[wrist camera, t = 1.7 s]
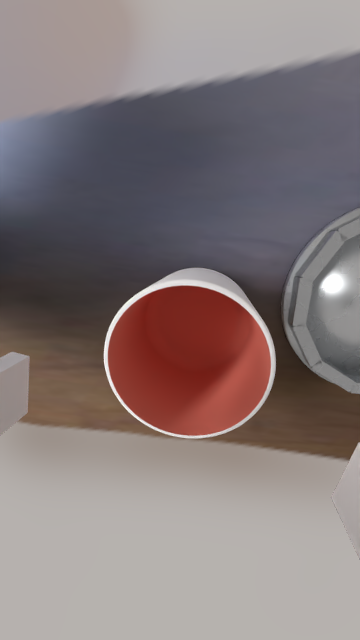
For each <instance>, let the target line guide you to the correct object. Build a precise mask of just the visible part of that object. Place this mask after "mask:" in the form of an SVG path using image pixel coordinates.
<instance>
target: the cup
mask: <svg viewBox="0 0 360 640" xmlns="http://www.w3.org/2000/svg"><path fill="white" fill-rule="evenodd" d="M104 364H105V370H106V373H107V377H108V381H109V383H110V386H111V388H112V390H113V392H114V394H115V395H116V397H117V398H118V400H119V401H120V402H121V404H122V405H123V406H124V407H125V408H126V409H127V410H128V411H129V412H130V413H131V414H132V415H133V416H134V417H135V418H136V419H138V420H139V421H141V422H142V423H144V424H145V425H147V426H149V427H150V428H152V429H154V430H157V431H159V432H162V433H165V434H168V435H171V436H176V437H182V438H207V437H213V436H217V435H221V434H223V433H226V432H229V431H231V430H233V429H235V428H237V427H239V426H240V425H242V424H243V423H245V422H246V421H247V420H249V419H250V418H251V417H252V416H253V415H254V414H255V413H256V412H257V411H258V410H259V409H260V407H261V406H262V405H263V403H264V402H265V400H266V398H267V397H268V395H269V393H270V390H271V388H272V385H273V381H274V377H275V371H276V356H275V349H274V344H273V341H272V338H271V335H270V332H269V330H268V328H267V326H266V324H265V323H264V321H263V319H262V318H261V317H260V315H259V314H258V312H257V311H256V309H255V308H254V306H253V305H252V303H251V302H250V301H249V299H248V298H247V296H246V295H245V293H244V292H243V291H242V289H241V288H240V287H239V286H238V285H237V284H236V283H235V282H234V281H233V280H231V279H230V278H229V277H227V276H225V275H224V274H222V273H219V272H217V271H214V270H210V269H205V268H188V269H183V270H179V271H176V272H174V273H172V274H170V275H168V276H166V277H164V278H163V279H161V280H159V281H158V282H156V283H154V284H152V285H151V286H149V287H147V288H146V289H144V290H142V291H141V292H139V293H137V294H136V295H134V296H133V297H132V298H131V299H129V300H128V301H127V302H126V303H125V304H124V305H123V306H122V308H121V309H120V310H119V311H118V313H117V314H116V316H115V317H114V319H113V321H112V323H111V325H110V327H109V330H108V333H107V336H106V340H105V346H104Z"/></svg>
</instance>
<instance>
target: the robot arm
mask: <svg viewBox="0 0 360 640" xmlns="http://www.w3.org/2000/svg"><path fill="white" fill-rule="evenodd" d="M28 384H29V356H26V355H23V354H19V353H15V352H11V353H9V354H7V355H5V356H3V357H1V358H0V436H1V435H2V434H3V433H4V432H5V431H7V430H8V429H9V428H10V427H11V426H12V425H13V424H15V423H16V422H17V421H18V420H19V419H21V418H22V417H23V416H24V415H25V414H26V413H28ZM331 499H332V501H333V503H334V505H335V507H336V509H337V511H338V514H339V516H340V518H341V520H342V522H343V525H344V527H345V529H346V531H347V533H348V535H349V537H350V540H351V542H352V544H353V546H354V548H355V550H356V553H357V555H358V557H359V559H360V443H358V445H357V447H356V449H355V451H354V453H353V455H352V457H351V459H350V460H349V462H348V464H347V466H346V468H345V470H344V472H343V475H342V477H341V478H340V480H339V482H338V484H337V486H336V488H335V491H334V492H333V494H332V496H331Z"/></svg>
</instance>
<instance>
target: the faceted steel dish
mask: <svg viewBox="0 0 360 640" xmlns="http://www.w3.org/2000/svg"><path fill="white" fill-rule="evenodd" d="M281 319H282V324H283V328H284V332H285V334H286V337H287V340H288V341H289V343H290V345H291V347H292V349H293V350H294V351H295V353H296V354H297V355H298V357H299V358H300V359H301V360H302V362H303V363H304V364H305V365H306V366H307V367H308V368H309V369H310V370H312V371H313V372H314V373H316V374H317V375H319V376H320V377H322V378H324V379H325V380H327V381H329V382H331V383H334V384H336V385H339V386H340V387H342V388H343V389H345V390H346V391H348V392H350V393H356V394H360V207H359V208H357V209H354V210H352V211H350V212H347V213H345V214H344V215H342V216H340V217H339V218H337V219H335V220H333V221H332V222H331V223H329V224H328V225H327V226H325V227H324V228H323V229H321V230H320V231H319V232H318V233H317V234H316V235H315V236H314V237H313V238H312V239H311V240H310V241H309V242H308V243H307V244H306V246H305V247H304V248H303V249H302V250H301V252H300V253H299V255H298V256H297V258H296V259H295V261H294V263H293V265H292V267H291V269H290V271H289V273H288V275H287V278H286V281H285V284H284V288H283V292H282V298H281Z"/></svg>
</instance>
